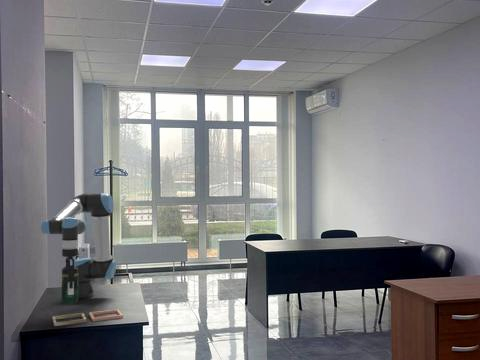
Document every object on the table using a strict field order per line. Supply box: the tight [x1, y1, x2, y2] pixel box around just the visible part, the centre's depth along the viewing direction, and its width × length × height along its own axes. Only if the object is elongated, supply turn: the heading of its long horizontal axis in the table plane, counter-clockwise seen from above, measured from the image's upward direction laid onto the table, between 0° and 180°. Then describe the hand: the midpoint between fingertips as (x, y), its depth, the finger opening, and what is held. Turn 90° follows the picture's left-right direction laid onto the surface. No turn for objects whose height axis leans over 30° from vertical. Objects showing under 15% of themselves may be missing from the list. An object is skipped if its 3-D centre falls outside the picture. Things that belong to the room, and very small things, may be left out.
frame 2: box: [88, 308, 124, 322], centre depth 241 cm, size 13×15×2 cm
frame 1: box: [52, 312, 87, 327], centre depth 233 cm, size 13×15×2 cm
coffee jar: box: [61, 266, 79, 305], centre depth 234 cm, size 10×8×19 cm
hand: (69, 292), depth 234 cm, fingers closed on coffee jar, 9 cm apart
